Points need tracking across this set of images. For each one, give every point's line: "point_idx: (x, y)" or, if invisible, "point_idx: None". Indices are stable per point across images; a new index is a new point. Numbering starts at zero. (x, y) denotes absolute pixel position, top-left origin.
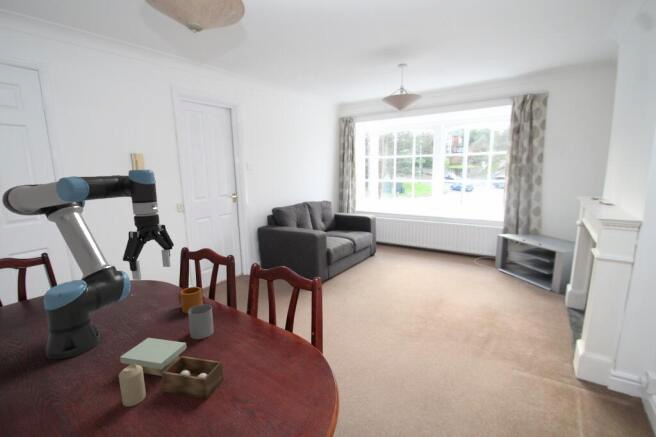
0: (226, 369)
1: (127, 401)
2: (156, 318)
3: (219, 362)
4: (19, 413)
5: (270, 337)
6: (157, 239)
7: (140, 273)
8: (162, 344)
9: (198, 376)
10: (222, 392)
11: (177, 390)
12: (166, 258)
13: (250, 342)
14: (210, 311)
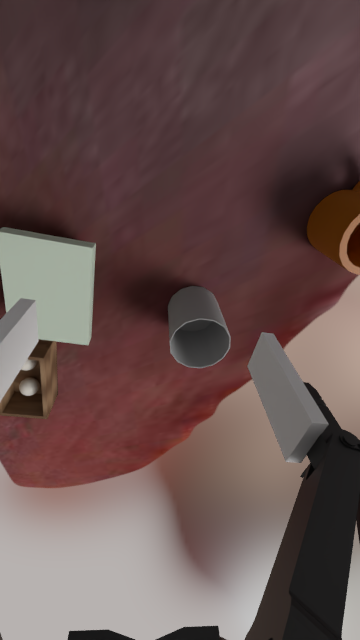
0: (82, 389)
1: None
2: (292, 125)
3: (44, 417)
4: None
5: (176, 419)
6: (265, 611)
7: (22, 364)
8: (71, 301)
9: (22, 388)
10: None
11: None
12: (269, 396)
13: (160, 398)
14: (196, 364)
